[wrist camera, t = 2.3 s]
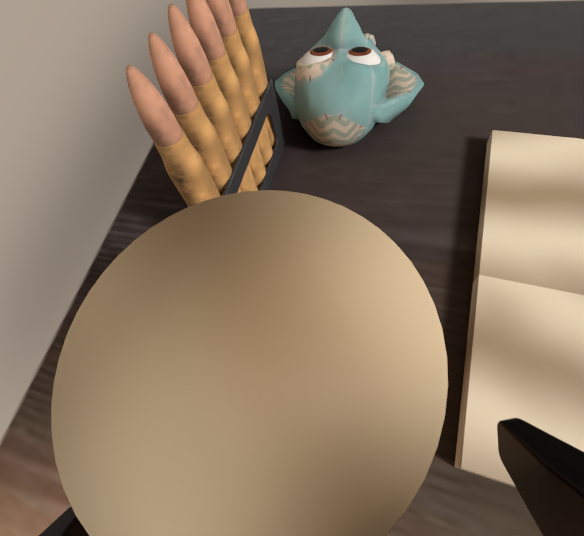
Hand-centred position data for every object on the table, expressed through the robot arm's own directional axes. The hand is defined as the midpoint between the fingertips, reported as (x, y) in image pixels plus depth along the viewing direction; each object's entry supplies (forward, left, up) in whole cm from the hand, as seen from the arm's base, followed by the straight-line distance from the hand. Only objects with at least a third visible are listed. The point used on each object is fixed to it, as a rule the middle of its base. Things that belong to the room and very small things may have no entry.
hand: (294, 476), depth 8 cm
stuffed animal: (+17, +17, -10) cm, 26 cm away
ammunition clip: (+7, +15, -10) cm, 19 cm away
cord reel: (+1, +2, -9) cm, 10 cm away
